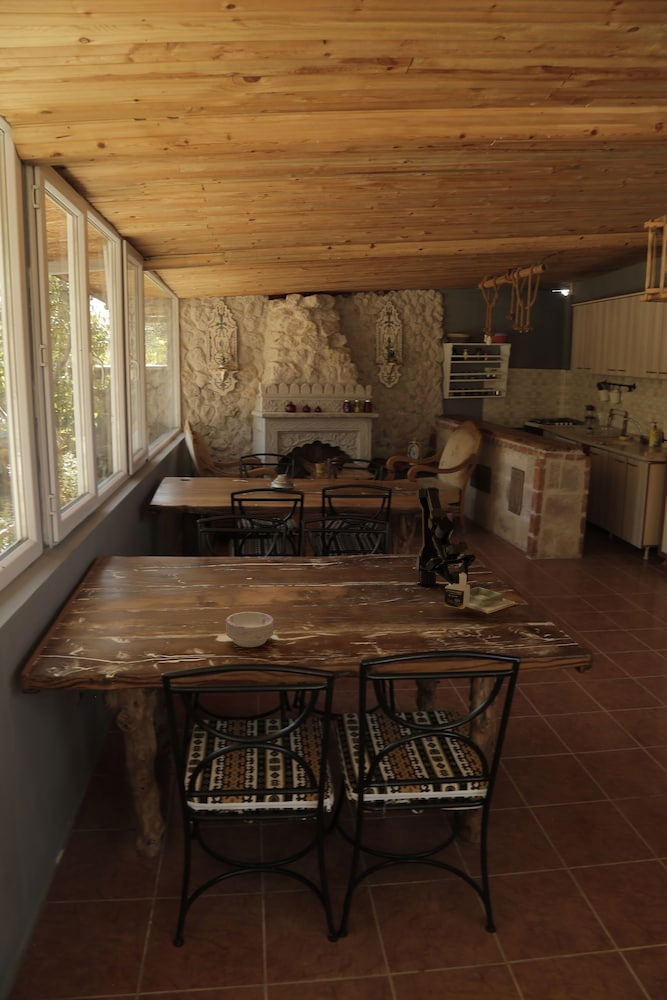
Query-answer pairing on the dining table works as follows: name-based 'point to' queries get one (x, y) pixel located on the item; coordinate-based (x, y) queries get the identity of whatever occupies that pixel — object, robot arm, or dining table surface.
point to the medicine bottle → (457, 591)
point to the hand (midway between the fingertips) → (460, 582)
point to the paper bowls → (249, 628)
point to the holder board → (487, 600)
